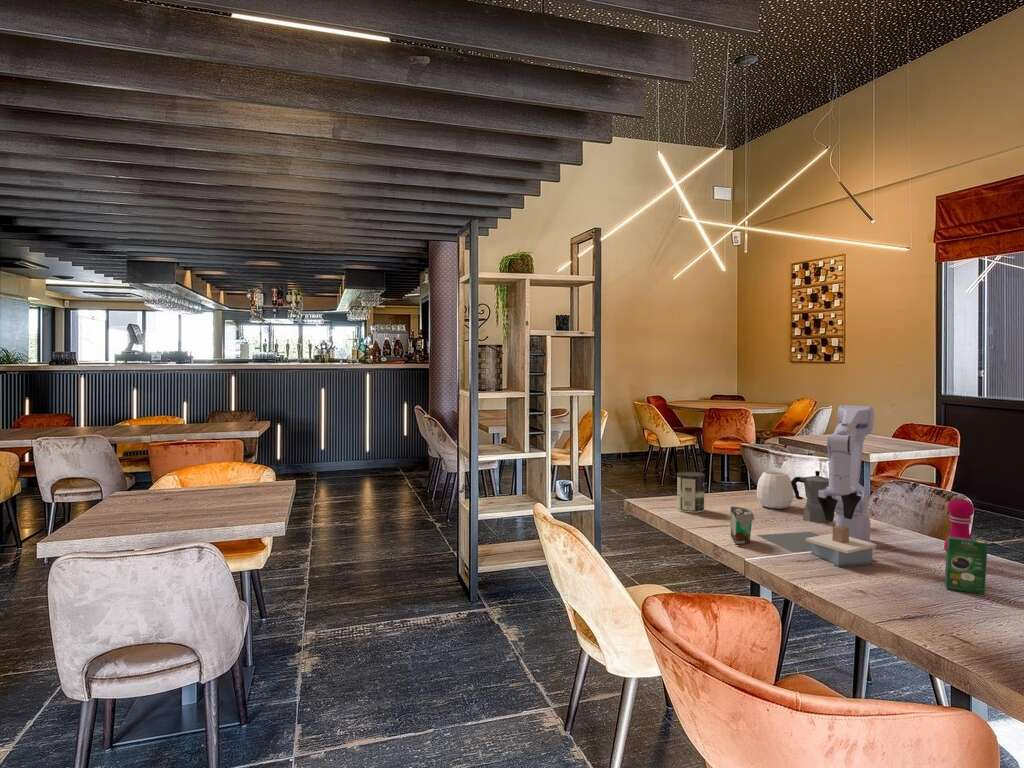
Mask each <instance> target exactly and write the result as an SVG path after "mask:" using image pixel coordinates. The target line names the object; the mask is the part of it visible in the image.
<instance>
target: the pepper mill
mask: <svg viewBox="0 0 1024 768" xmlns="http://www.w3.org/2000/svg"><path fill="white" fill-rule="evenodd" d="M947 511H948V512H949V514H950V515H949V521H950V522H951V523H950V525H951V527H950V531H949V534H948V536H951V537H958V538H966V539H972V536H971V532H970V525H971V524H972V517H971V516H972V515H974V513H975V507H974V505H973V504H972V503H971V502H970V501H968V500H966V496H965V494H963V493H959V494H957V496H956V498H955V499H952V500H950V501H949V502H948V504H947ZM948 536H947V538H945V541H944V544H943V549H944V551H945V552H946V553H947V540H948Z"/></svg>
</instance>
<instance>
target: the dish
mask: <svg viewBox="0 0 1024 768" xmlns="http://www.w3.org/2000/svg"><path fill="white" fill-rule="evenodd" d="M873 549H874V548H870V549H865V550H861V551H856V552H852V553H844V552H840V551H837V550H834V549H831V548H827V547H824V546H821V545H817V544H814V543H812V545H811V551H810V552H811V553H810V554H811V555H813V556H815V557H818V558H820V559H822V560H824V561H827V562H829V563H831V564H833V565H834V567H837V568H845V567H858V566H859V565H860V566H869V565H873V553H874V552H873Z"/></svg>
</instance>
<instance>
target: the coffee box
mask: <svg viewBox="0 0 1024 768" xmlns="http://www.w3.org/2000/svg"><path fill="white" fill-rule="evenodd" d="M947 537H948V540H947V552H946V555H945V569H944V570H945V572H944V576H945V577H944V587H945V586H946V587H945V589H946V588H947V589H946V590H951V589H952V590H951V591H955V590H960V591H959V592H964V591H966V593H972V594H975V593H976V595H977V594H978V595H985V594H986V593H985V592H986V579H987V577H986V575H987V559H988V543H987V541H986V540H980V539H966V538H958V537H951V536H949V535H947Z"/></svg>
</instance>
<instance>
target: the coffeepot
mask: <svg viewBox="0 0 1024 768" xmlns="http://www.w3.org/2000/svg"><path fill="white" fill-rule="evenodd" d="M814 473H815V475H813V476H812V475H811V476H795V477H794V478H793V479H791V485H792V487H793V494H794V496H795V499H797V500H799V501H802V500H803V499H804V496H800V491H799V489H798V485H797V483H802V484H803V486H804V492H805V493H804V494H805V497H806V502H805V506H804V511H803V516H802V520H803V521H804V522H811V523H818V524H823V523H827V524H830V523H831V522H830V521H827V520H826V519H825V515H824V511H823V508H822V506H821V504H820V502H819V500H818V496H819V490H823V489H826V487H829V477H823V476H820V473H821V471H820V470H815V471H814Z"/></svg>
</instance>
